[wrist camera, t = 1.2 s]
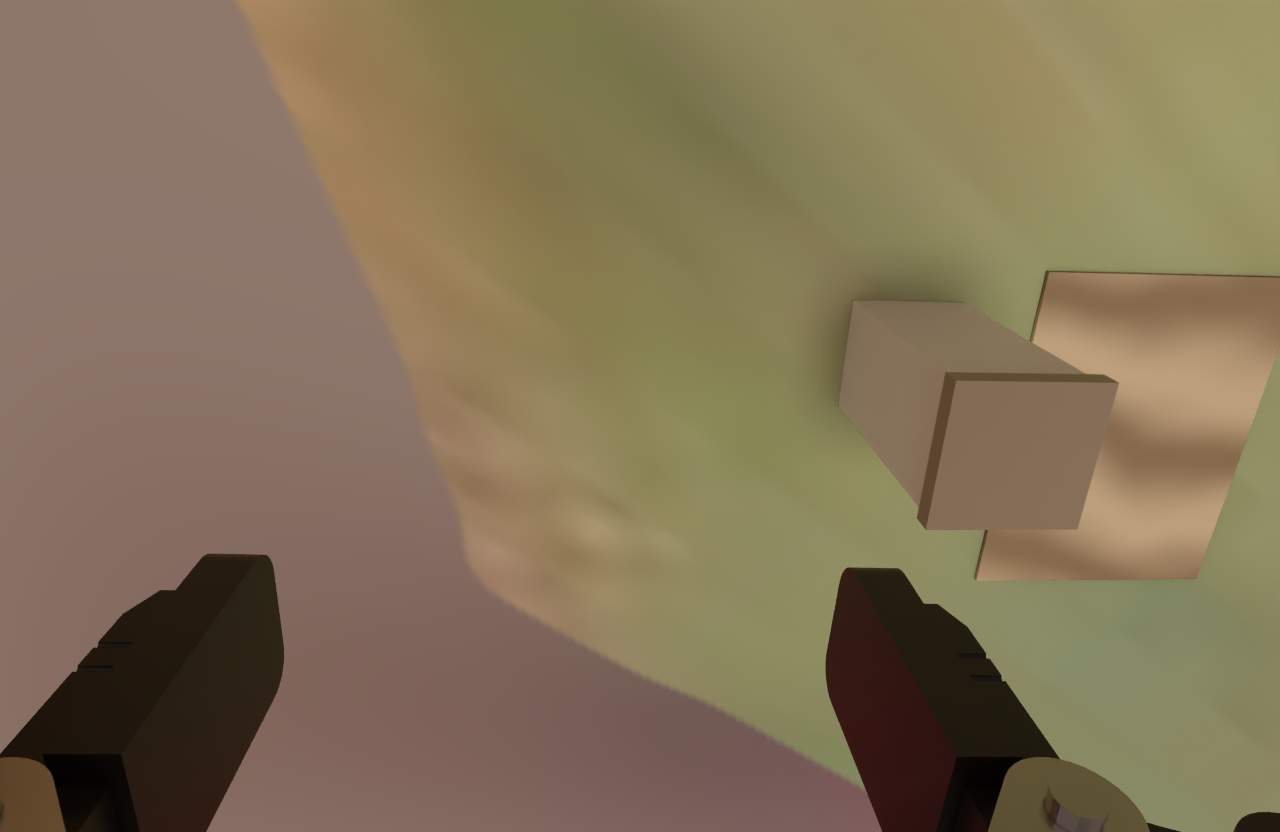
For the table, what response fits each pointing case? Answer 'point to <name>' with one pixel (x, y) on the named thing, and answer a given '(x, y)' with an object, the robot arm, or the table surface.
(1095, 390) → the canister
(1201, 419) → the mat
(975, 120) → the table surface
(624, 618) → the table surface
